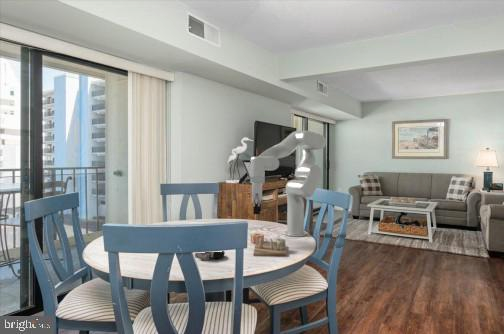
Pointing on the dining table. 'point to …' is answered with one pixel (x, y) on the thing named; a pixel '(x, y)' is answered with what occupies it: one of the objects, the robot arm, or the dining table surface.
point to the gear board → (270, 248)
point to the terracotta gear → (256, 238)
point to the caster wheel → (209, 255)
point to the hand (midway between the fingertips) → (257, 212)
